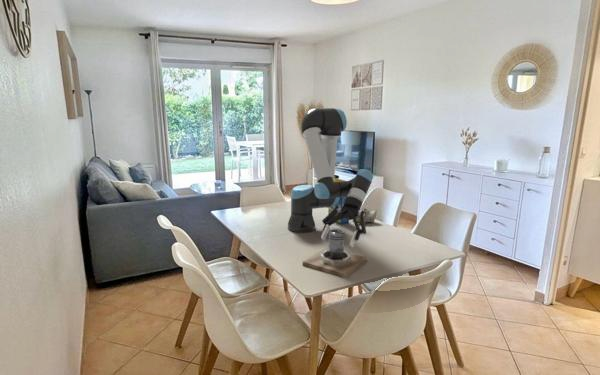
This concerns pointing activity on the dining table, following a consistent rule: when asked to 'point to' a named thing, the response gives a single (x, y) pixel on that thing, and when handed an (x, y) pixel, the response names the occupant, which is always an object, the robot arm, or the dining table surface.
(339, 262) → the steel ring
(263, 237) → the dining table surface
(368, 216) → the ceramic sculpture
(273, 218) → the dining table surface
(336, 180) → the blue food package
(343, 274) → the walnut board
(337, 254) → the cylinder
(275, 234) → the dining table surface
